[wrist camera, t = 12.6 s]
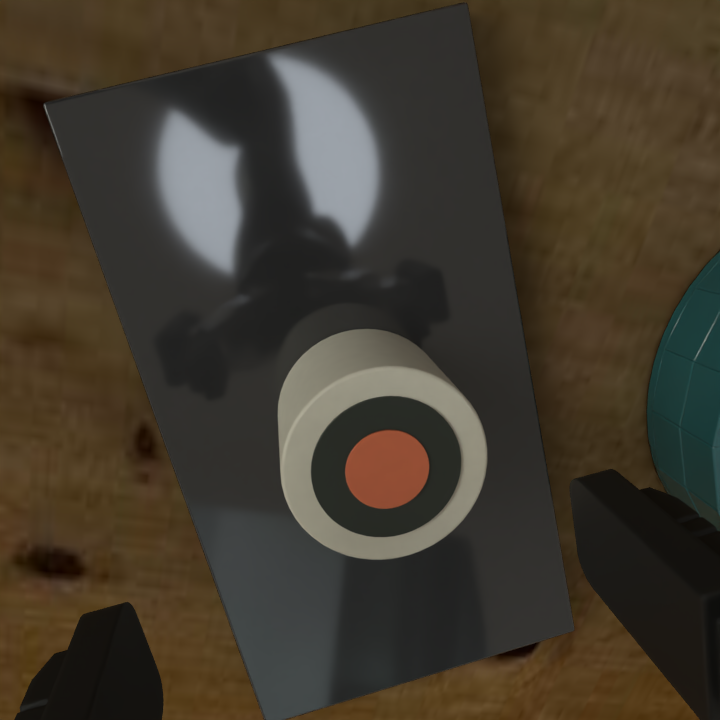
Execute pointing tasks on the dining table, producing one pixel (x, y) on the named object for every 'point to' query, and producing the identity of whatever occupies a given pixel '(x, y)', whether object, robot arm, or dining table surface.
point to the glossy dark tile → (324, 332)
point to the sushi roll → (377, 446)
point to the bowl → (689, 398)
